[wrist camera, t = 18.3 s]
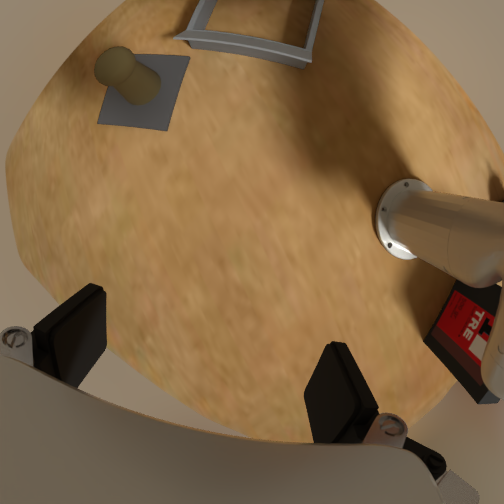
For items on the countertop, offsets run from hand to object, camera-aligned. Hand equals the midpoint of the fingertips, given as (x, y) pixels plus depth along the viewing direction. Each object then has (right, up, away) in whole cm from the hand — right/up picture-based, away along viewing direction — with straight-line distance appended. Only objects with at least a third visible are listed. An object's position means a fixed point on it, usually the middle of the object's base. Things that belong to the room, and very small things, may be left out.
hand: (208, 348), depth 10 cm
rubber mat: (-14, +28, +22) cm, 38 cm away
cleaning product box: (+42, -8, +32) cm, 54 cm away
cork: (-14, +28, +22) cm, 38 cm away
